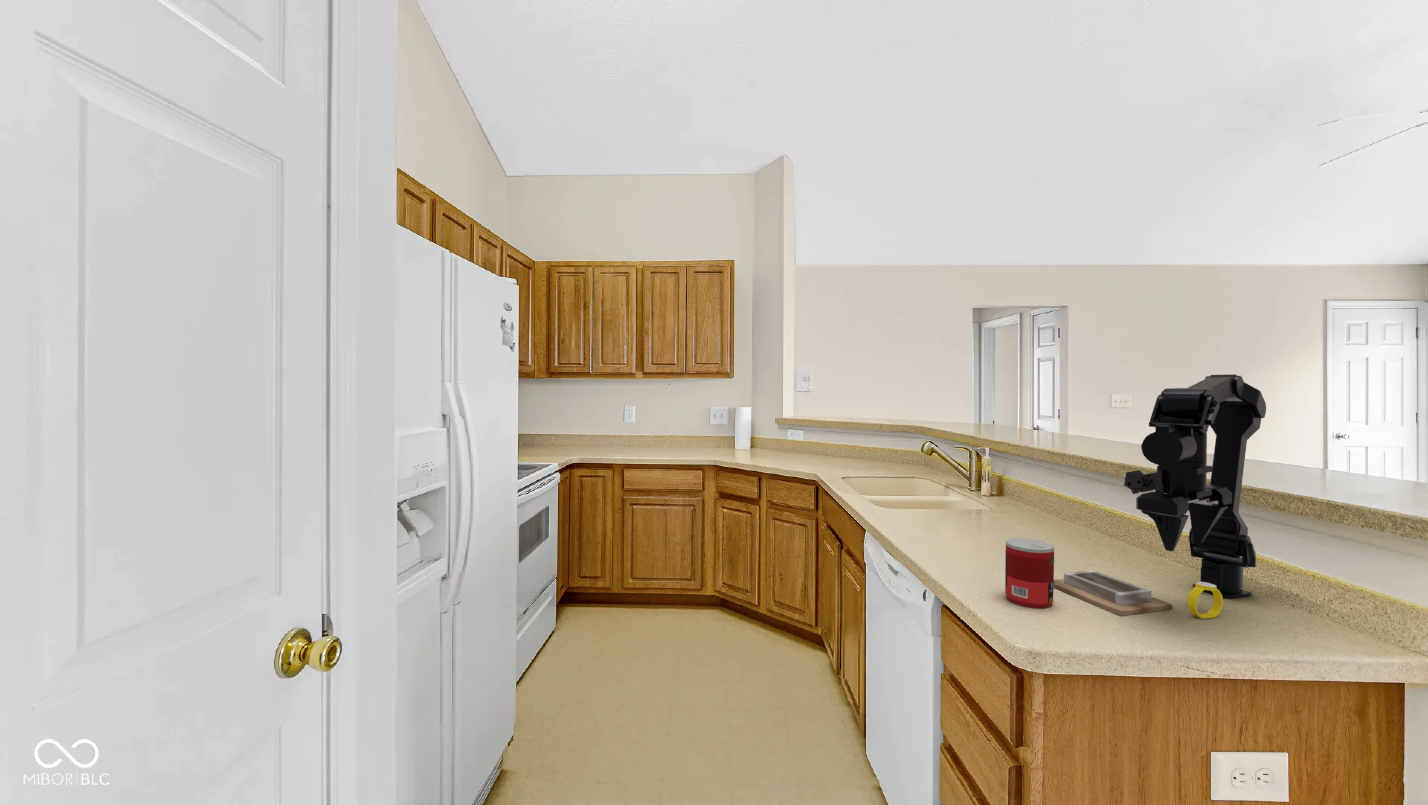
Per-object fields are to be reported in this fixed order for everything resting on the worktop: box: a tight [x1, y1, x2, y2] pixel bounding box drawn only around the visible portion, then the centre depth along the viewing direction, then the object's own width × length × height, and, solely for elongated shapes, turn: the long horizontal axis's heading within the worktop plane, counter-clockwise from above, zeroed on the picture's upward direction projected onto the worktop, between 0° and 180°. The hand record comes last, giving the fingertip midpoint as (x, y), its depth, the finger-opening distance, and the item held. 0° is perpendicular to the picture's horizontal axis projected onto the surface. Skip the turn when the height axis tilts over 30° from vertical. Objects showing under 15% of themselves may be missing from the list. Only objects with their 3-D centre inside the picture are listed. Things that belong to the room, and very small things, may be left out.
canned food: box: [1004, 537, 1055, 609], centre depth 106 cm, size 8×8×11 cm
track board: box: [1054, 569, 1173, 617], centre depth 108 cm, size 12×16×3 cm
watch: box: [1186, 581, 1224, 620], centre depth 98 cm, size 6×3×6 cm, turn 101°
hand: (1183, 546), depth 99 cm, fingers open, 9 cm apart
